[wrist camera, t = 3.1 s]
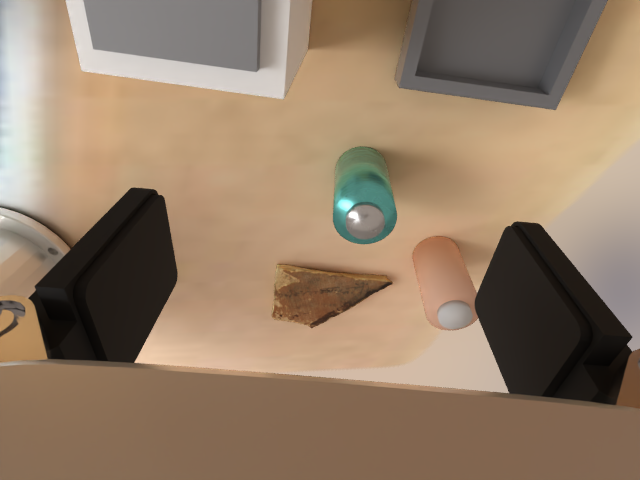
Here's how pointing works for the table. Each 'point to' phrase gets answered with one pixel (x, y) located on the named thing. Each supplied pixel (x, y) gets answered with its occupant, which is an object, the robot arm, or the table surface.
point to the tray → (496, 48)
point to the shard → (319, 293)
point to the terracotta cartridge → (444, 284)
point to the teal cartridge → (363, 197)
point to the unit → (195, 41)
